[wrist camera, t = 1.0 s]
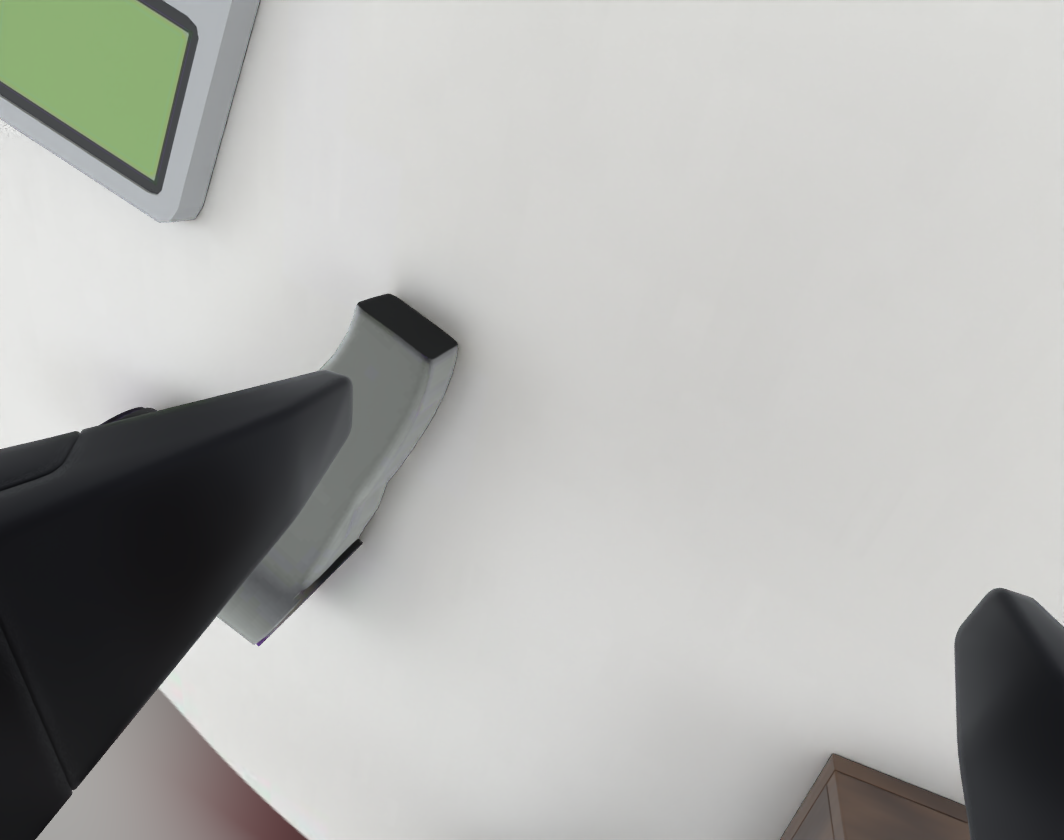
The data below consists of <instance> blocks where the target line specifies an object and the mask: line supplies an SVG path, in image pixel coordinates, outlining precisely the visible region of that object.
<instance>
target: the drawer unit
mask: <svg viewBox="0 0 1064 840" xmlns="http://www.w3.org/2000/svg"><path fill="white" fill-rule="evenodd" d="M780 840H971V839H970V832H969V826H968V819H967V812H966V806H964V805H961V804H959V803H956V802H954V801H951V800H949V799H946V798H944V797H941V796H939V795H936V794H934V793H931V792H929V791H926V790H923V789H921V788H918V787H916V786H913V785H911V784H908V783H906V782H903V781H901V780H898V779H896V778H893V777H891V776H888V775H886V774H883V773H881V772H878V771H875V770H873V769H870V768H868V767H865V766H863V765H860V764H858V763H855V762H853V761H850V760H848V759H845V758H843V757H840V756H838V755H835V754H832V755H831V757H830V759H829V760H828V762H827V763H826V765H825V767H824V768H823V770H822V772H821V773H820V775H819V777H818V778H817V780H816V781H815V783H814V785H813V786H812V788H811V790H810V791H809V793H808V795H807V796H806V798H805V799H804V801H803V803H802V804H801V806H800V808H799V809H798V811H797V813H796V814H795V816H794V817H793V819H792V821H791V822H790V824H789V826H788V827H787V829H786V831H785V832H784V834H783V835H782V837H781V839H780Z"/></svg>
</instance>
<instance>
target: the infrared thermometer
mask: <svg viewBox="0 0 1064 840" xmlns="http://www.w3.org/2000/svg"><path fill="white" fill-rule="evenodd" d="M457 353H458V344H457V342H456V341H455V340H454V339H453V338H451V337H450V336H449V335H448V334H446V333H445V332H444V331H442V330H441V329H440V328H438V327H437V326H436V325H434V324H433V323H432V322H430V321H429V320H428V319H426V318H425V317H424V316H422V315H421V314H420V313H418V312H417V311H415V310H414V309H413V308H411V307H410V306H408V305H407V304H406V303H404V302H403V301H402V300H400V299H399V298H397V297H396V296H394V295H392V294H384V295H381V296H377V297H373V298H370V299H367V300H364V301H361V302H359V303H358V304H357V306H356V308H355V312H354V316H353V319H352V322H351V324H350V327H349V330H348V332H347V334H346V336H345V337H344V339H343V341H342V342H341V344H340V346H339V347H338V349H337V350H336V352H335V354H334V355H333V356H332V357H331V358H330V359H329V360H328V361H327V363H326V364H325V365H324V366H323V367H322V368H321V369H320V370H319V371H321V370H329V371H332V372H335V373H338V374H341V375H344V376H347V377H349V378H350V379H351V381H352V383H353V420H352V428H351V432H350V434H349V437H348V439H347V440H346V442H345V443H344V445H343V447H342V448H341V450H340V451H339V453H338V454H337V456H336V458H335V459H334V461H333V462H332V464H331V465H330V467H329V469H328V470H327V472H326V473H325V475H324V476H323V478H322V480H321V481H320V483H319V484H318V486H317V487H316V489H315V491H314V492H313V494H312V495H311V497H310V499H309V500H308V502H307V503H306V505H305V506H304V508H303V509H302V511H301V512H300V513H299V515H298V516H297V518H296V519H295V520H294V521H293V523H292V524H291V525H290V527H289V528H288V529H287V530H286V532H285V533H284V534H283V535H282V537H281V538H280V539H279V540H278V541H277V543H276V544H275V545H274V546H273V548H272V549H271V550H270V551H269V552H268V554H267V555H266V556H265V557H264V559H263V560H262V561H261V562H260V564H259V565H258V566H257V567H256V568H255V570H254V571H253V572H252V573H251V575H250V576H249V577H248V578H247V579H246V581H245V582H244V583H243V584H242V586H241V587H240V588H239V589H238V591H237V592H236V593H235V594H234V595H233V597H232V598H231V599H230V600H229V602H228V603H227V604H226V605H225V607H224V608H223V609H222V610H221V611H220V613H219V614H218V615H217V617H218V618H219V619H221V620H222V621H223V622H225V623H226V624H227V625H229V626H230V627H231V628H232V629H234V630H235V631H236V632H238V633H239V634H240V635H242V636H243V637H244V638H246V639H247V640H248V641H249V642H251V643H252V644H257V645H258V646H260V645H261V644H262V643H263V642H264V641H265V640H266V639H267V638H268V637H269V636H270V635H271V634H272V633H273V632H274V631H275V630H276V629H277V628H278V627H279V626H280V625H281V624H282V623H283V622H284V621H285V620H286V619H287V618H288V617H289V616H290V615H291V614H292V613H293V612H294V611H295V610H296V609H297V608H298V607H299V606H300V605H301V604H302V603H303V602H304V601H305V600H306V599H308V597H309V596H310V595H311V594H312V593H313V592H314V591H315V590H316V589H317V588H318V587H319V586H320V585H321V584H322V583H323V582H324V581H325V580H326V579H327V578H328V577H329V576H330V575H331V574H332V573H333V572H334V571H335V570H336V569H337V568H338V567H340V566H341V565H342V564H343V563H344V562H345V561H346V560H347V559H348V558H349V557H350V556H351V555H352V554H353V553H354V552H355V551H356V550H357V549H358V548H359V546H360V545H361V544H362V543H363V542H362V541H361V540H360V539H359V536H360V534H361V533H362V531H363V529H364V528H365V526H366V524H367V523H368V522H369V520H370V519H371V517H372V516H373V515H374V513H375V512H376V510H377V509H378V507H379V504H380V502H381V499H382V496H383V493H384V491H385V488H386V485H387V482H388V481H389V480H390V479H391V477H392V476H393V475H394V474H395V473H396V471H397V470H398V469H399V468H400V466H401V465H402V464H403V462H404V461H405V459H406V458H407V457H408V455H409V454H410V452H411V451H412V449H413V448H414V446H415V445H416V443H417V442H418V440H419V439H420V437H421V436H422V434H423V433H424V431H425V430H426V428H427V427H428V425H429V423H430V421H431V420H432V418H433V416H434V414H435V412H436V410H437V408H438V406H439V404H440V403H441V401H442V399H443V397H444V395H445V392H446V389H447V387H448V384H449V382H450V379H451V376H452V374H453V370H454V366H455V363H456V359H457ZM156 411H157V410H155V409H152V408H143V407H138V408H134V409H131V410H128V411H125V412H123V413H121V414H119V415H117V416H115V417H113V418H111V419H109V420H107V421H106V422H104V423H102V424H101V425H103V424H107V423H111V422H115V421H119V420H123V419H127V418H131V417H135V416H139V415H143V414H147V413H151V412H156Z"/></svg>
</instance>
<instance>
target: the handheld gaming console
mask: <svg viewBox="0 0 1064 840" xmlns="http://www.w3.org/2000/svg"><path fill="white" fill-rule="evenodd" d="M259 2H260V0H0V119H1V120H3V121H4V122H6V123H7V124H9V125H10V126H12V127H13V128H15V129H17V130H18V131H20V132H21V133H23V134H24V135H26V136H27V137H29V138H30V139H32V140H33V141H35V142H36V143H38V144H39V145H41V146H43V147H44V148H46V149H47V150H49V151H50V152H52V153H53V154H55V155H56V156H58V157H59V158H61V159H62V160H64V161H65V162H67V163H69V164H70V165H72V166H73V167H75V168H76V169H78V170H79V171H81V172H82V173H84V174H85V175H87V176H88V177H90V178H91V179H93V180H95V181H96V182H98V183H99V184H101V185H102V186H104V187H105V188H107V189H108V190H110V191H111V192H113V193H114V194H116V195H118V196H119V197H121V198H122V199H124V200H125V201H127V202H128V203H130V204H131V205H133V206H134V207H136V208H137V209H139V210H140V211H142V212H144V213H145V214H147V215H148V216H150V217H151V218H153V219H154V220H156V221H157V222H176V221H184V220H192V219H195V218H196V216H197V215H198V213H199V212H200V210H201V209H202V207H203V204H204V200H205V197H206V193H207V190H208V186H209V182H210V179H211V175H212V172H213V168H214V164H215V161H216V157H217V154H218V150H219V146H220V143H221V139H222V136H223V132H224V128H225V125H226V121H227V117H228V114H229V110H230V107H231V103H232V99H233V96H234V92H235V89H236V85H237V81H238V78H239V74H240V71H241V67H242V63H243V60H244V56H245V53H246V49H247V45H248V42H249V38H250V34H251V31H252V27H253V24H254V20H255V16H256V13H257V9H258V6H259Z"/></svg>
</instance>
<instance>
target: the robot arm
mask: <svg viewBox="0 0 1064 840" xmlns="http://www.w3.org/2000/svg"><path fill="white" fill-rule="evenodd" d="M352 420H353V383H352V381H351V379H350V378H349V377H347V376H344V375H341V374H338V373H335V372H332V371H329V370H321V371H317V372H313V373H309V374H305V375H301V376H297V377H293V378H289V379H285V380H281V381H276V382H272V383H268V384H264V385H260V386H256V387H252V388H248V389H244V390H240V391H236V392H232V393H228V394H224V395H220V396H216V397H212V398H208V399H204V400H200V401H196V402H192V403H188V404H184V405H180V406H176V407H172V408H168V409H164V410H160V411H156V412H151V413H147V414H143V415H139V416H135V417H131V418H127V419H123V420H119V421H115V422H111V423H107V424H103V425H99V426H95V427H91V428H87V429H84V430H82V431H81V433H79V432H78V431H74V432H70V433H66V434H62V435H58V436H54V437H51V438H47V439H42V440H38V441H34V442H29V443H25V444H21V445H16V446H12V447H8V448H4V449H0V840H35V839H36V838H37V837H38V836H39V834H40V833H41V832H42V831H43V829H44V828H45V827H46V826H47V824H48V823H49V822H50V821H51V820H52V818H53V817H54V816H55V815H56V814H57V812H58V811H59V810H60V809H61V807H62V806H63V805H64V804H65V802H66V801H67V800H68V799H69V798H70V796H71V795H72V790H75V789H76V788H77V787H78V786H79V785H80V783H81V782H82V781H83V780H84V778H85V777H86V776H87V775H88V774H89V772H90V771H91V770H92V768H93V767H94V766H95V765H96V764H97V762H98V761H99V760H100V759H101V757H102V756H103V755H104V754H105V753H106V751H107V750H108V749H109V748H110V746H111V745H112V744H113V743H114V741H115V740H116V739H117V738H118V736H119V735H120V734H121V733H122V732H123V731H124V729H125V728H126V727H127V725H128V724H129V723H130V722H131V721H132V719H133V718H134V717H135V716H136V715H137V713H138V712H139V711H140V710H141V708H142V707H143V706H144V705H145V703H146V702H147V701H148V700H149V699H150V697H151V696H152V695H153V694H154V692H155V691H156V690H157V689H158V688H159V686H160V685H161V684H162V683H163V681H164V680H165V679H166V678H167V677H168V675H169V674H170V673H171V672H172V670H173V669H174V668H175V667H176V665H177V664H178V663H179V662H180V661H181V659H182V658H183V657H184V656H185V654H186V653H187V652H188V651H189V649H190V648H191V647H192V646H193V645H194V643H195V642H196V641H197V640H198V638H199V637H200V636H201V635H202V634H203V632H204V631H205V630H206V629H207V627H208V626H209V625H210V624H211V622H212V621H213V620H214V619H215V618H216V616H217V615H218V614H219V613H220V611H221V610H222V609H223V608H224V607H225V605H226V604H227V603H228V602H229V600H230V599H231V598H232V597H233V595H234V594H235V593H236V592H237V591H238V589H239V588H240V587H241V586H242V584H243V583H244V582H245V581H246V579H247V578H248V577H249V576H250V575H251V573H252V572H253V571H254V570H255V568H256V567H257V566H258V565H259V564H260V562H261V561H262V560H263V559H264V557H265V556H266V555H267V554H268V552H269V551H270V550H271V549H272V548H273V546H274V545H275V544H276V543H277V541H278V540H279V539H280V538H281V537H282V535H283V534H284V533H285V532H286V530H287V529H288V528H289V527H290V525H291V524H292V523H293V521H294V520H295V519H296V518H297V516H298V515H299V513H300V512H301V511H302V509H303V508H304V506H305V505H306V503H307V502H308V500H309V499H310V497H311V495H312V494H313V492H314V491H315V489H316V487H317V486H318V484H319V483H320V481H321V480H322V478H323V476H324V475H325V473H326V472H327V470H328V469H329V467H330V465H331V464H332V462H333V461H334V459H335V458H336V456H337V454H338V453H339V451H340V450H341V448H342V447H343V445H344V443H345V442H346V440H347V439H348V437H349V434H350V432H351V428H352ZM954 648H955V683H956V717H957V743H958V756H959V764H960V772H961V779H962V786H963V792H964V799H965V806H966V812H967V819H968V826H969V832H970V839H971V840H1064V627H1063V626H1062V625H1061V624H1060V623H1059V622H1058V621H1057V620H1056V619H1055V618H1054V617H1053V616H1052V615H1051V614H1050V613H1048V612H1047V611H1046V610H1045V609H1044V608H1043V607H1042V606H1041V605H1040V604H1039V603H1038V602H1037V601H1036V600H1034V599H1033V598H1031V597H1028V596H1025V595H1022V594H1019V593H1016V592H1013V591H1010V590H1007V589H1004V588H996V589H993V590H991V591H990V592H989V593H988V594H987V595H986V596H985V597H984V598H983V599H982V601H981V602H980V603H979V604H978V605H977V607H976V608H975V609H974V610H973V611H972V613H971V614H970V615H969V616H968V617H967V619H966V620H965V621H964V622H963V624H962V625H961V626H960V628H959V630H958V632H957V634H956V637H955V646H954Z"/></svg>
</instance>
